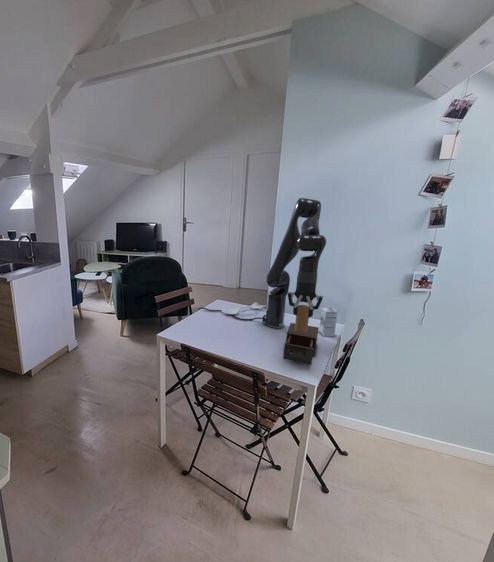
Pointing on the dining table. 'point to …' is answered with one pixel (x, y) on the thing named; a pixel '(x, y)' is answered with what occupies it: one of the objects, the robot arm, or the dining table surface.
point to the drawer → (299, 349)
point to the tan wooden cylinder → (302, 318)
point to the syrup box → (328, 321)
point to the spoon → (235, 311)
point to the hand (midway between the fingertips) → (302, 315)
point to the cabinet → (304, 334)
